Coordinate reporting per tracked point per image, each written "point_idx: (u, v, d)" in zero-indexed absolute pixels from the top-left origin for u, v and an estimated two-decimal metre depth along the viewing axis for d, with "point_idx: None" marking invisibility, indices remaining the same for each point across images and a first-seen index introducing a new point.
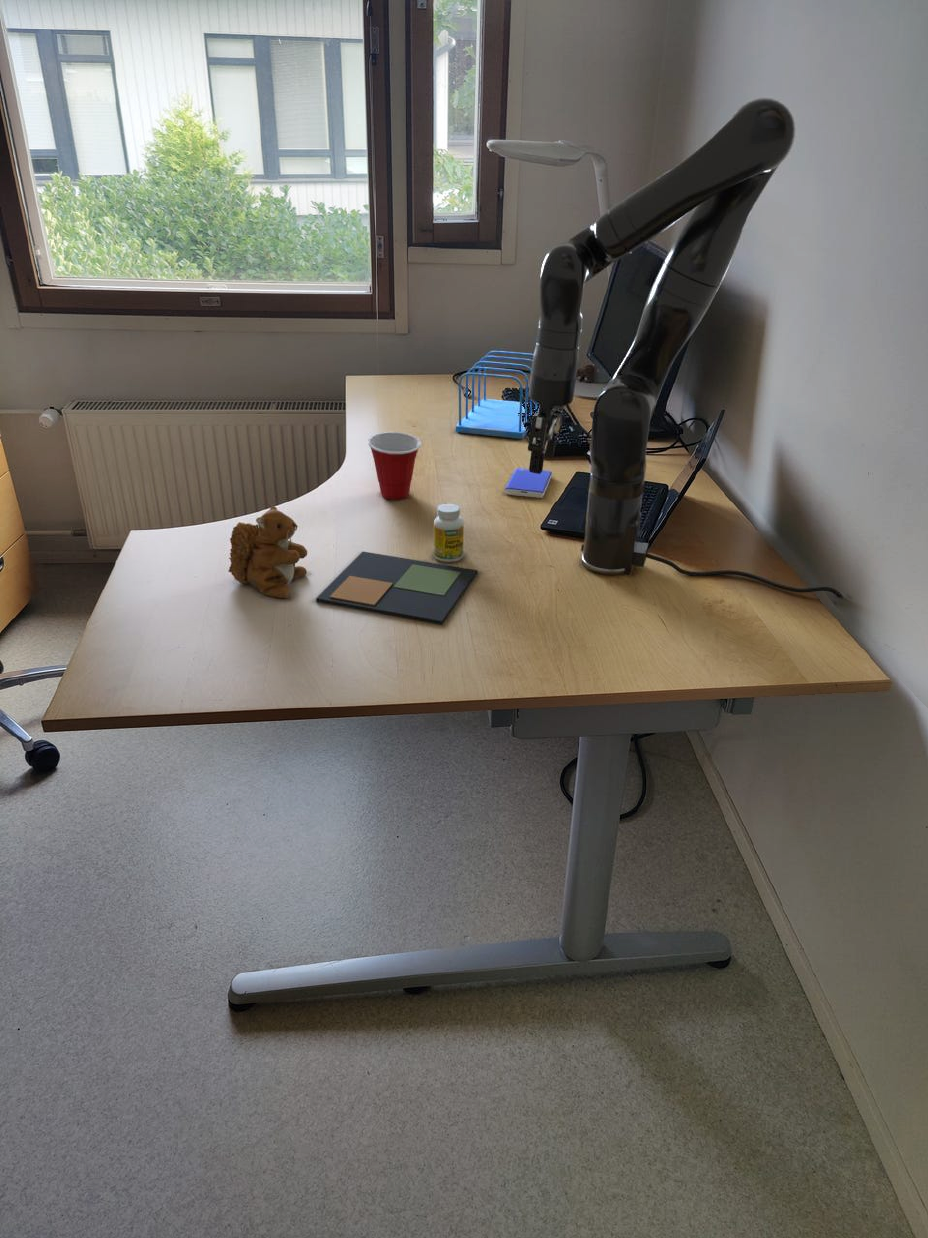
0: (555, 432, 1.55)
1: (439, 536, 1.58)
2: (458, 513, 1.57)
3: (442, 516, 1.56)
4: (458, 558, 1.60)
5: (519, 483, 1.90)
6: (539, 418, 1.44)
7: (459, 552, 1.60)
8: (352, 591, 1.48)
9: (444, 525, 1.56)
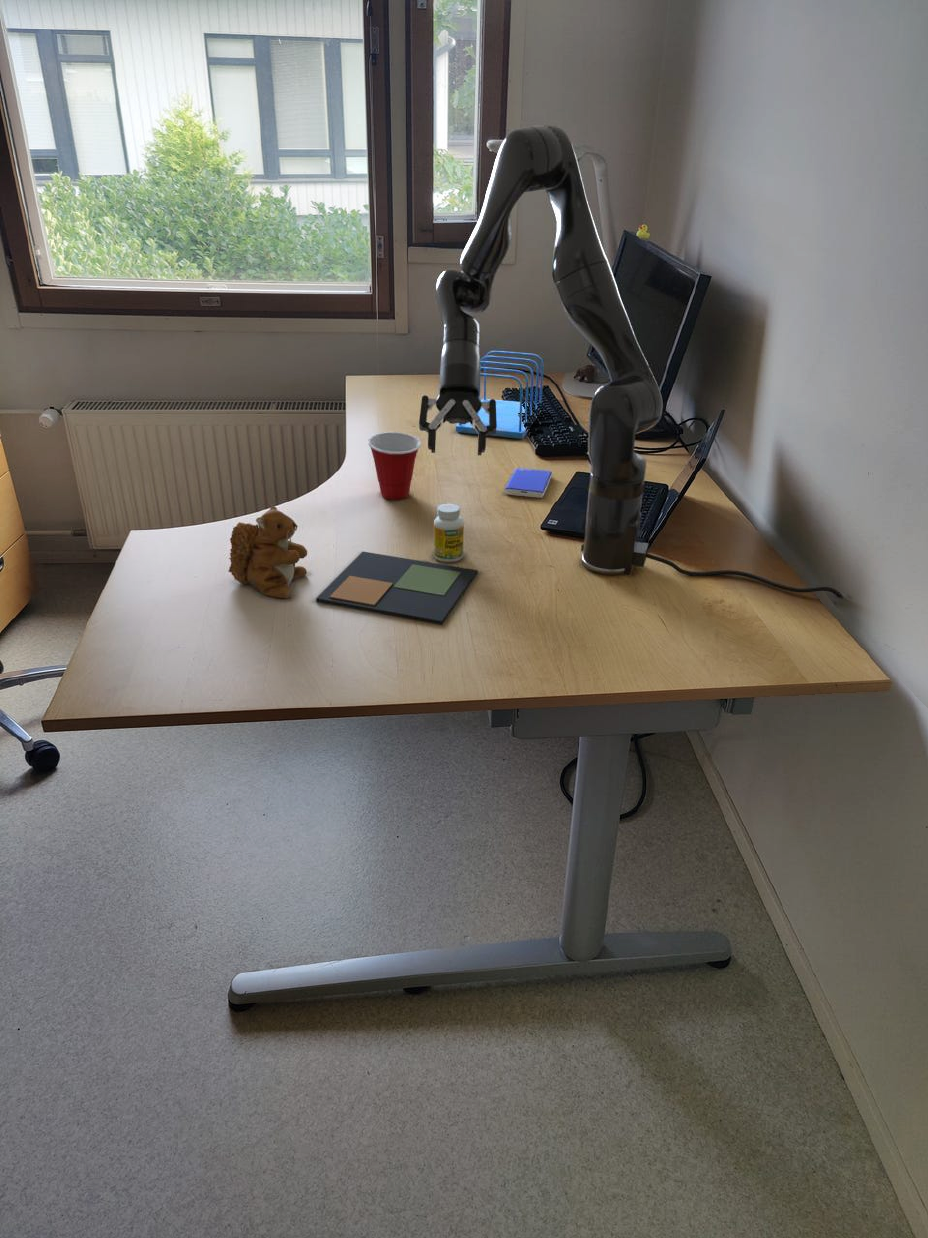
0: (477, 426, 1.63)
1: (439, 536, 1.58)
2: (458, 513, 1.57)
3: (442, 516, 1.56)
4: (458, 558, 1.60)
5: (519, 483, 1.90)
6: None
7: (459, 552, 1.60)
8: (352, 591, 1.48)
9: (444, 525, 1.56)
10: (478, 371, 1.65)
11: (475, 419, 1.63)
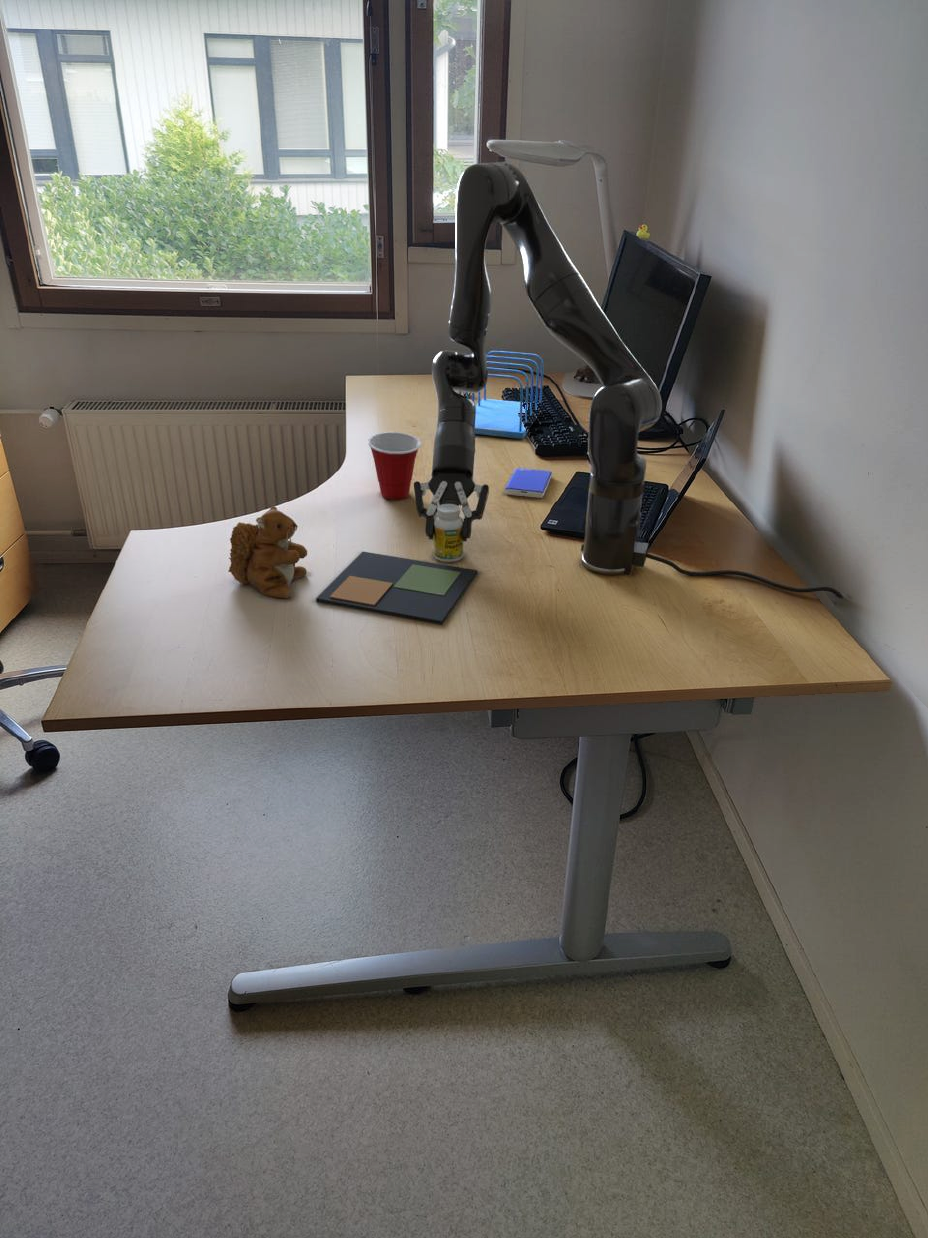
0: (463, 510, 1.58)
1: (438, 536, 1.58)
2: (458, 513, 1.57)
3: (442, 516, 1.56)
4: (458, 558, 1.60)
5: (519, 483, 1.90)
6: None
7: (459, 552, 1.60)
8: (352, 591, 1.48)
9: (444, 525, 1.56)
10: (472, 452, 1.61)
11: (462, 503, 1.58)
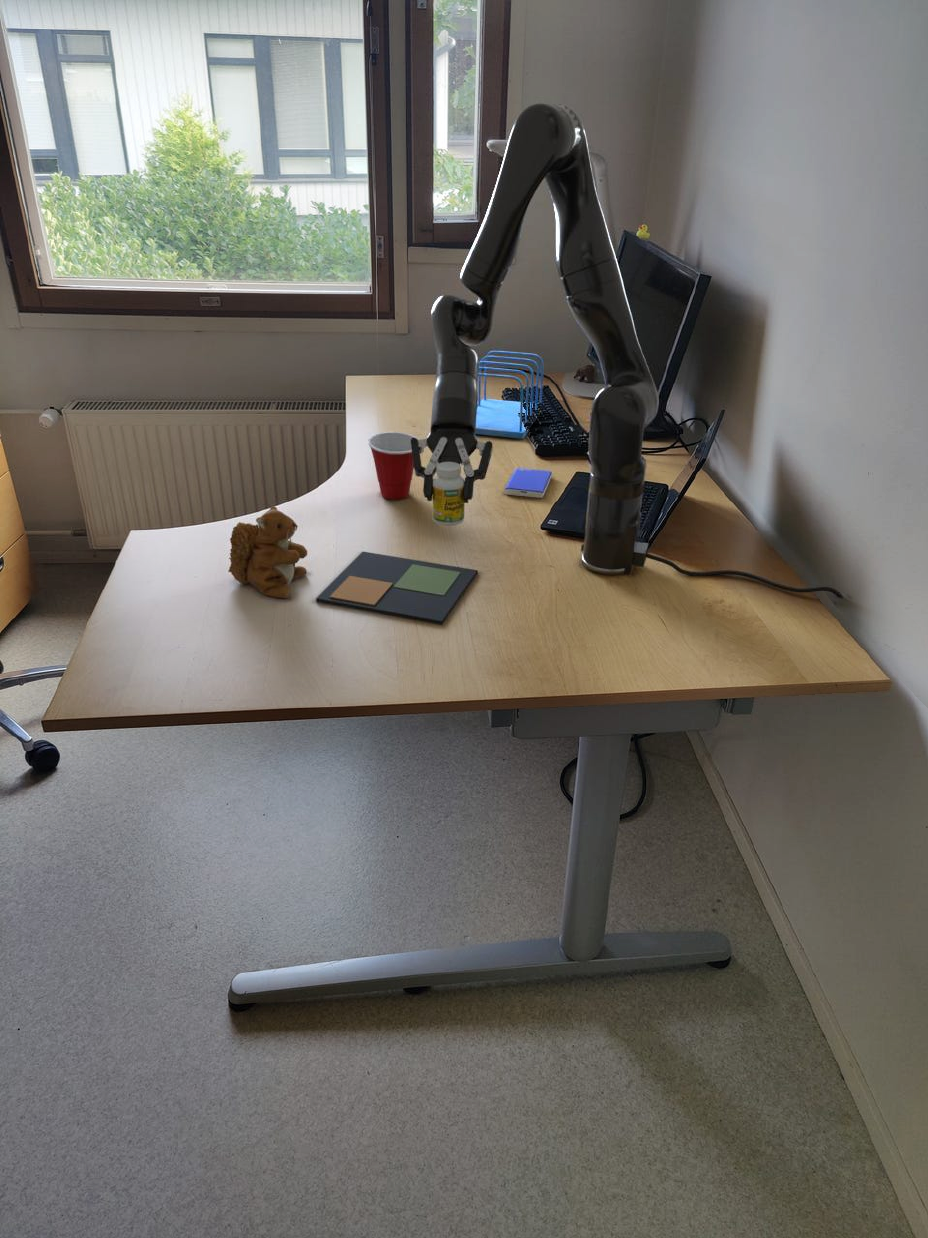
0: (464, 469, 1.45)
1: (438, 497, 1.45)
2: (459, 471, 1.44)
3: (441, 474, 1.43)
4: (459, 521, 1.47)
5: (519, 483, 1.90)
6: None
7: (460, 515, 1.47)
8: (352, 591, 1.48)
9: (443, 485, 1.43)
10: (474, 406, 1.47)
11: (464, 461, 1.45)
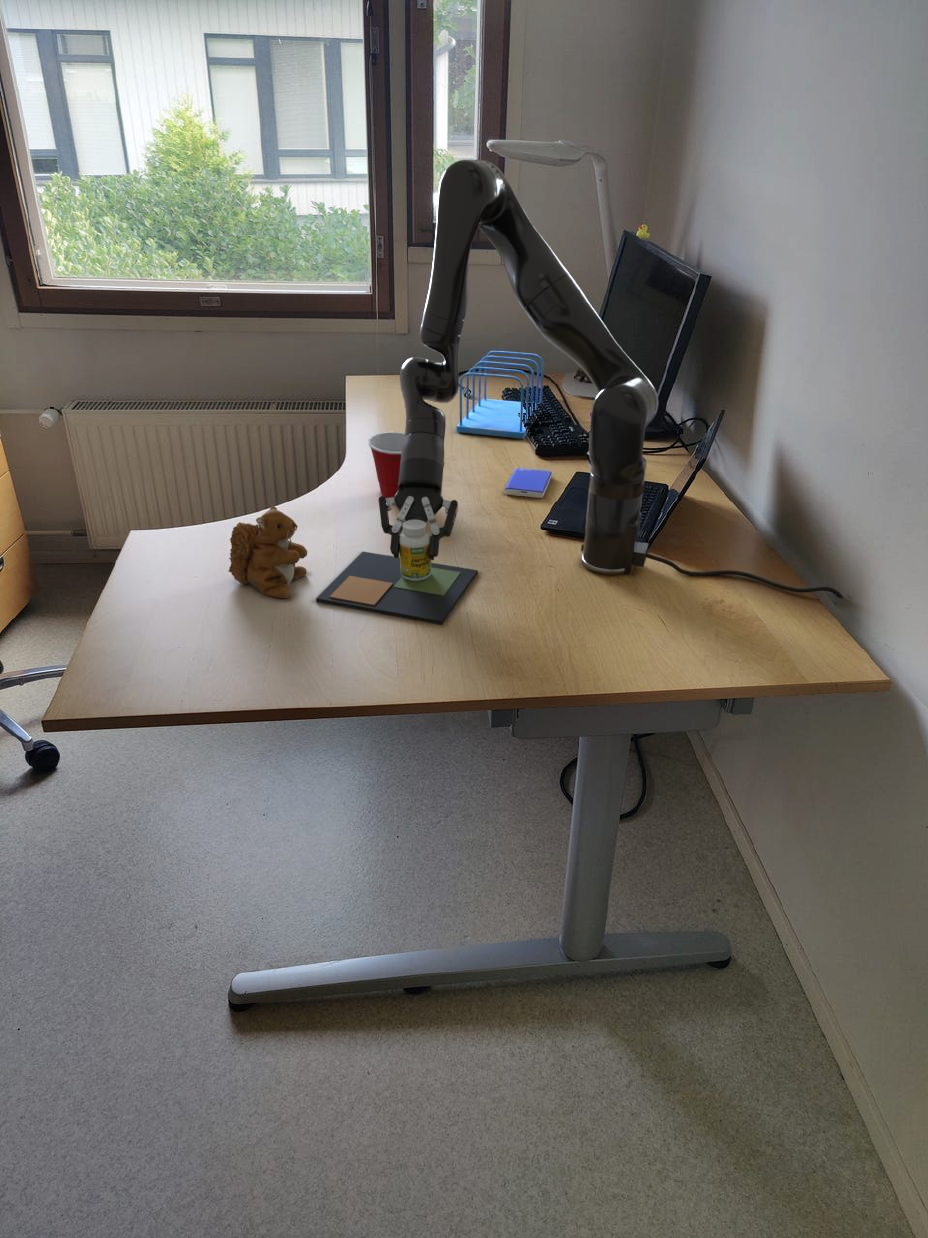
0: (430, 527, 1.50)
1: (404, 554, 1.50)
2: (424, 530, 1.48)
3: (407, 533, 1.48)
4: (425, 577, 1.52)
5: (519, 483, 1.90)
6: None
7: (426, 571, 1.51)
8: (352, 591, 1.48)
9: (409, 543, 1.48)
10: (440, 466, 1.52)
11: (429, 519, 1.50)
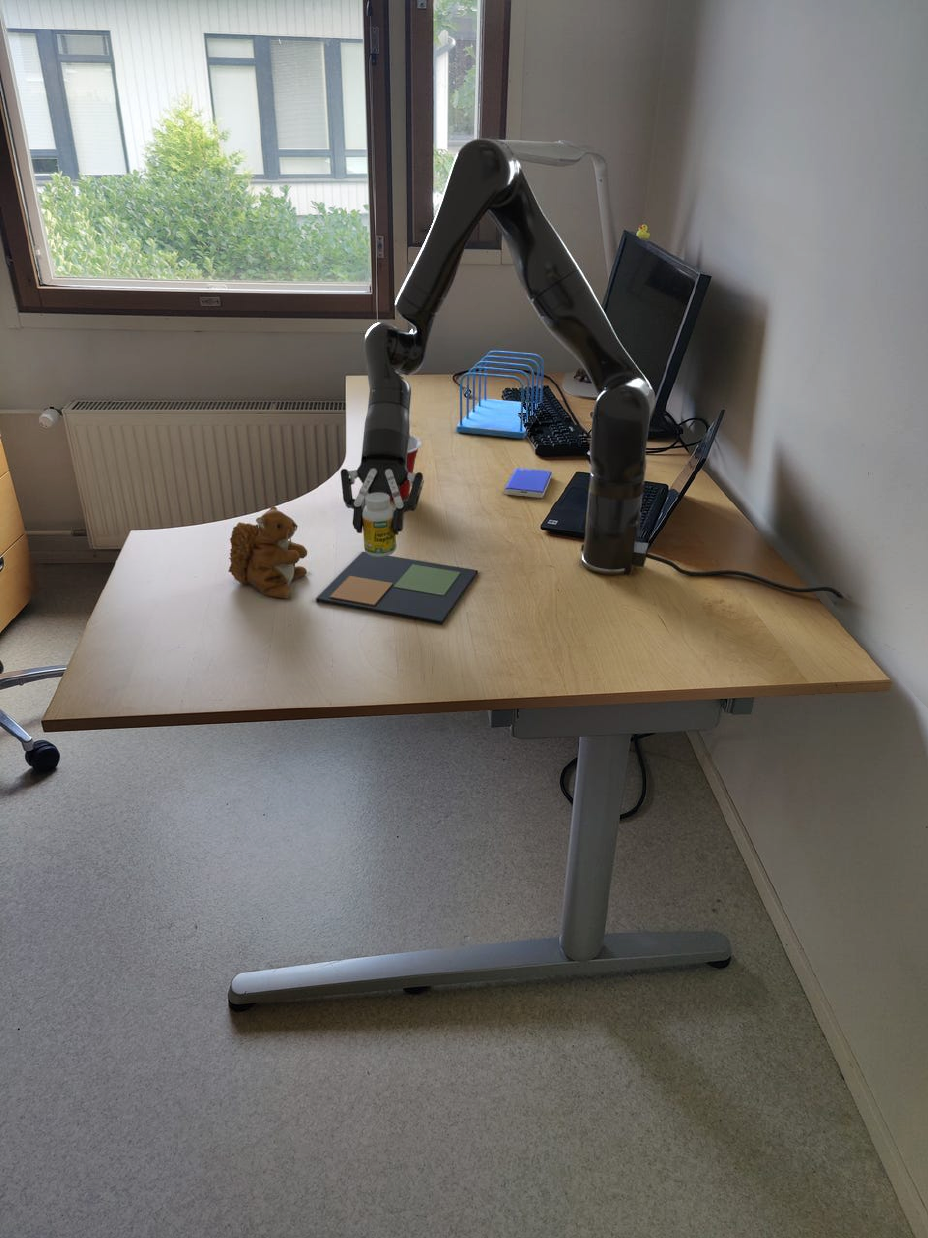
0: None
1: (367, 528, 1.44)
2: (387, 503, 1.42)
3: (370, 506, 1.42)
4: (390, 552, 1.46)
5: (519, 483, 1.90)
6: None
7: (391, 546, 1.45)
8: (352, 591, 1.48)
9: (372, 516, 1.42)
10: (405, 437, 1.46)
11: (393, 492, 1.44)
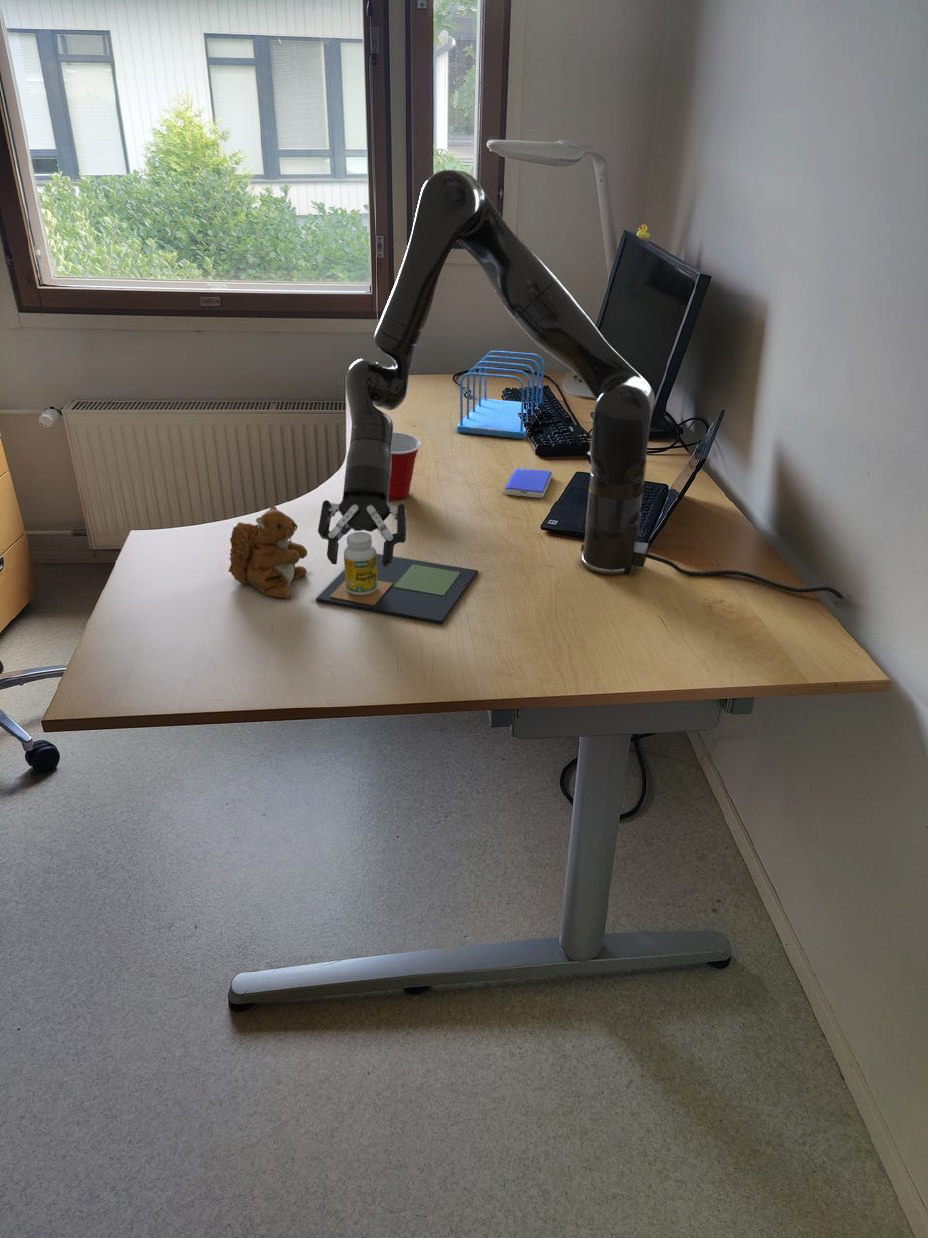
0: (383, 534, 1.45)
1: (348, 568, 1.45)
2: (369, 543, 1.44)
3: (351, 546, 1.43)
4: (371, 591, 1.47)
5: (519, 483, 1.90)
6: None
7: (372, 585, 1.47)
8: None
9: (353, 556, 1.43)
10: (386, 473, 1.47)
11: (380, 527, 1.45)
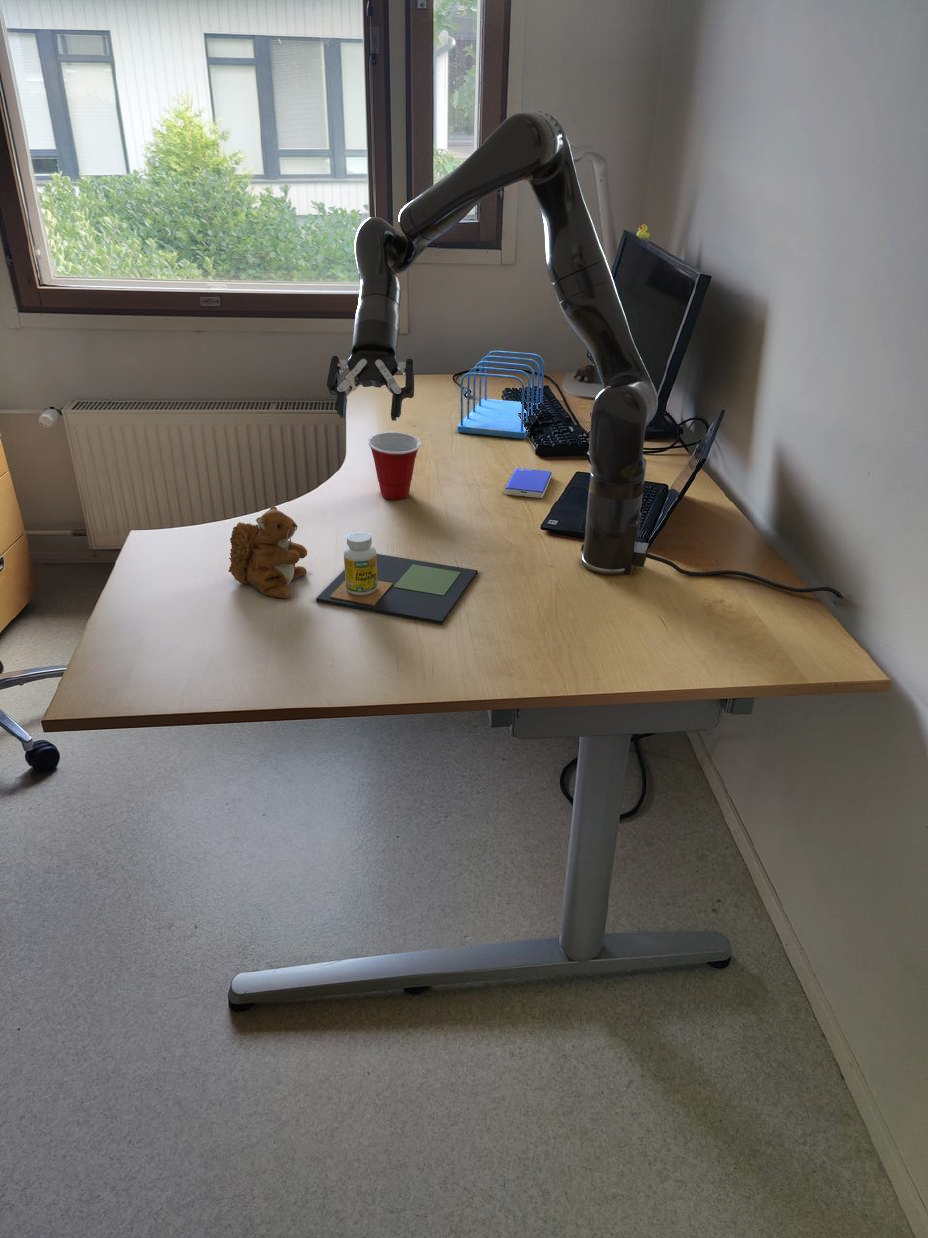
0: (391, 388, 1.46)
1: (348, 568, 1.45)
2: (369, 543, 1.44)
3: (351, 546, 1.43)
4: (371, 591, 1.47)
5: (519, 483, 1.90)
6: None
7: (372, 585, 1.47)
8: None
9: (353, 556, 1.43)
10: (395, 329, 1.48)
11: (388, 380, 1.45)
